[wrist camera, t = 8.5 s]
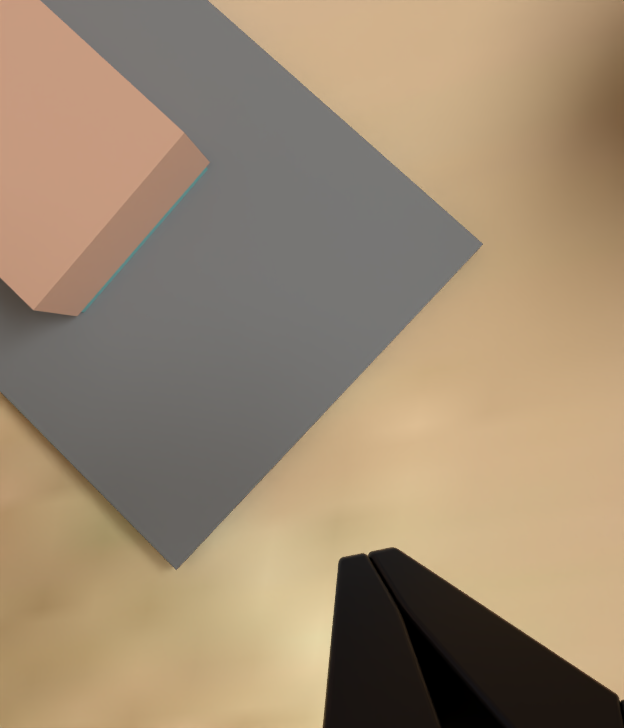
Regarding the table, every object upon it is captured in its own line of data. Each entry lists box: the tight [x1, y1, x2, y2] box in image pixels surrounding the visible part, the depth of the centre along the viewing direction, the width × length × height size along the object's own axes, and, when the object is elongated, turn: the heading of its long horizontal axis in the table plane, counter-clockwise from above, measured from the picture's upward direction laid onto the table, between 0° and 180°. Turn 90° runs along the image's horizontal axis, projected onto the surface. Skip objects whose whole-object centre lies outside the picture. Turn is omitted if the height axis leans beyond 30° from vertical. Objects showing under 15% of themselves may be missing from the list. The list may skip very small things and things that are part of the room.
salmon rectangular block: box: [0, 0, 210, 316], centre depth 18 cm, size 3×7×10 cm
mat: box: [0, 0, 483, 570], centre depth 19 cm, size 20×15×1 cm
